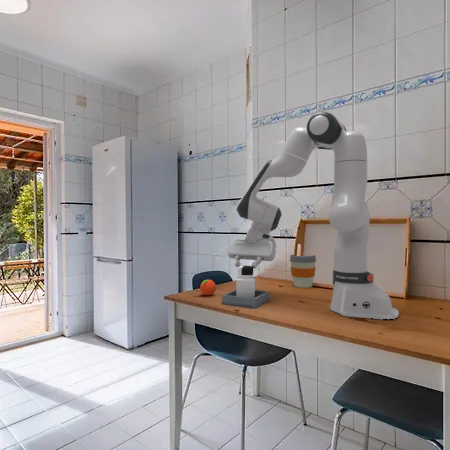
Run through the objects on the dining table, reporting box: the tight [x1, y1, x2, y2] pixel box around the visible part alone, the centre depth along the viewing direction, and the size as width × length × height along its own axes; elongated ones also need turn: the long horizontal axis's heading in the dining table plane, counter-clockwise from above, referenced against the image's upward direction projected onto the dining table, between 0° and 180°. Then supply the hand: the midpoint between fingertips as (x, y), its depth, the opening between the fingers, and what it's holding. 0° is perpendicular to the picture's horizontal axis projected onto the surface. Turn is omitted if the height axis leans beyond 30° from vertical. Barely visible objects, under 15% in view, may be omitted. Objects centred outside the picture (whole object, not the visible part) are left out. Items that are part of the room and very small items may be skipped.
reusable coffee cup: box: [289, 254, 317, 289], centre depth 161 cm, size 12×12×15 cm
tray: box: [221, 289, 270, 310], centre depth 130 cm, size 14×14×4 cm
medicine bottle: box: [235, 265, 256, 298], centre depth 130 cm, size 7×7×12 cm
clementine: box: [199, 279, 217, 297], centre depth 142 cm, size 8×7×7 cm
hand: (245, 266), depth 129 cm, fingers closed on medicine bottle, 6 cm apart
